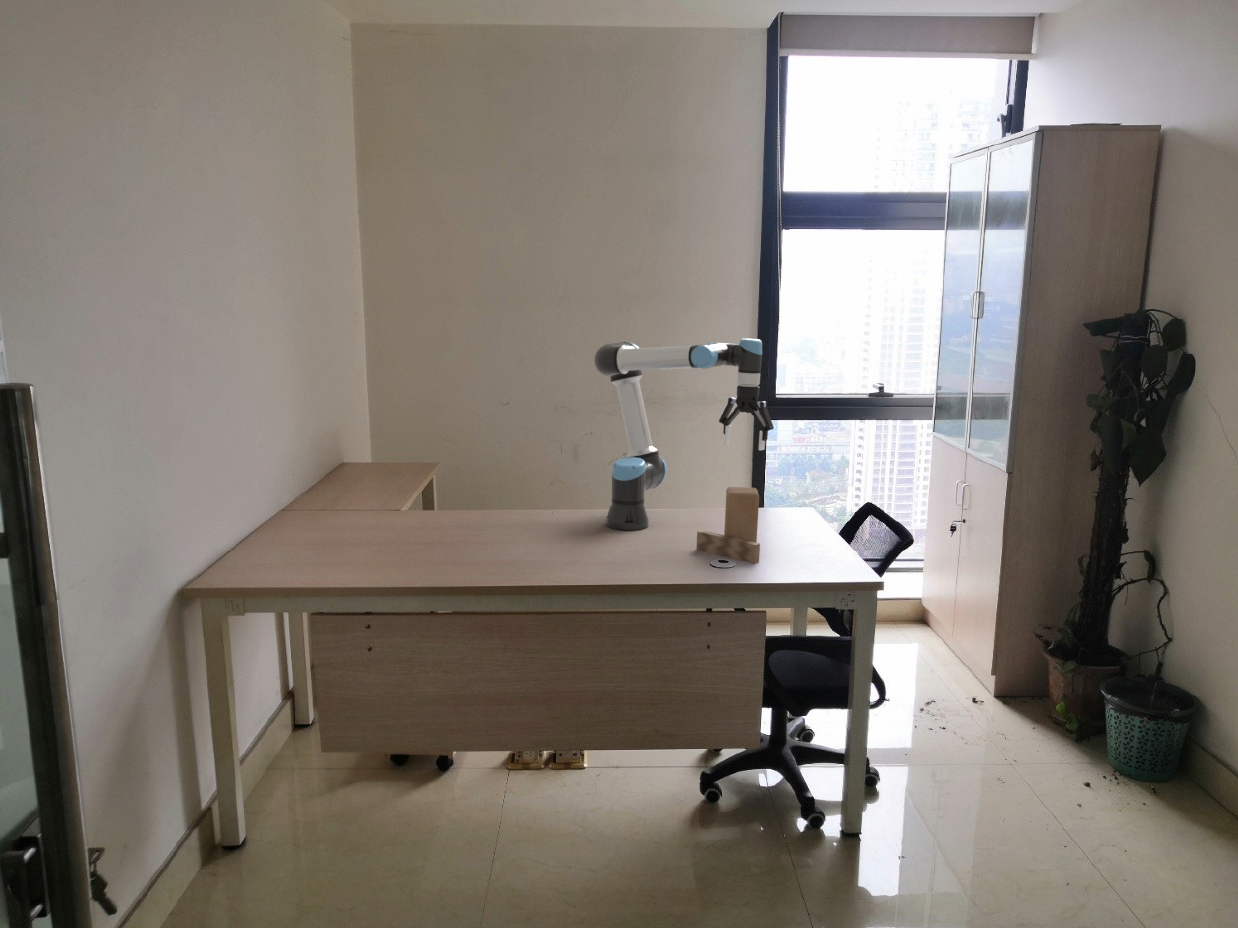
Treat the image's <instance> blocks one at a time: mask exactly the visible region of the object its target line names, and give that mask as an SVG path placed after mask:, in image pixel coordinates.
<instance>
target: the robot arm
mask: <svg viewBox="0 0 1238 928" xmlns="http://www.w3.org/2000/svg"><path fill="white" fill-rule="evenodd" d="M593 358H594V359H593V360H594V361H593V362H594V366H595V369H596V370H597V371H598V372H599V373H600V374H601V375H603V376H605V377H609V379H610V383H611V384H612V385H614V386H615V387H616V391H617V396H618V401H619V406H620V411H621V416H622V420H623V424H624V429H625V434H626V440H627V443H628V449H629V452H628V453H627V455H626V457H622V458H618V459H617V460H615V461H614V462H613V463H612V469H611V504H610V507H609V509H608V512H607V516H606V518H605V525H606V526H607V527H609V528H611V529H614V530H618V531H619V530H620V531H637V530H639V531H640V530H643V529H646V528H649V525H650V524H649V521H650V520H649V519H650V518H649V517H648V513H647V510H646V509H647V508H646V506H645V497H646V496H645V494H646V491H648V490H650V489H651V490H652V489H655V488H656V487H658V486H659V485H661V484H662V483H664V481H665V479H666V478H667V474H668V468H667V467H668V466H667V464H666V461H665V460H664V458H662V457H661V456H660V453H659V450H658V448H656V447H654V444H653V441H652V437H651V432H650V431H651V430H650V425H649V421H648V417H647V412H646V407H645V403H644V397H643V394H642V388H641V383H640V381H641V380H642V377H643V372H642V371H652V370H653V371H655V370H657V371H658V370H676V369H677V370H678V369H679V370H680V369H701V370H702V369H703V370H704V369H705V370H707V369H709V368H713V367H714V368H715V367H721V366H727V367H729V366H730V367H737V368H738V369H737V379H736V380H737V386H736V397H735V396H732V397H731V396H730V397H728V399H727V404H726V406H725V408H724V410H723V412H722V414H721V416H720V417H719V420H718V423H720V424H722V425H723V432H722V433H723V435H724V445H730V444H731V442H732V426H733V425H732V424H731V423H732V422H733V421H734V420H735V419H736V417H737V416H738V415H739V414H740V413H747V414H751V415H752V416H753V418H754V419H755V421H756V422H757V425H758V426H759V428H760V429H761V430H759V435H758V437H759V439H758V451H764V450H766V449H765V446H766V441H767V440H768V435H769V431H772V430H774V429H775V427H774V423H773V421H772V419H771V416H770V415H771V414H770V413H769V410H768V405H767V404H768V402H767V401H765V400H764V401H759V396H760V386H759V385H760V384H761V371H762V369H761V368H762V358H763V342H762V340H761V339H758V338H741V339H740V340H739V343H728V342H727V343H725V342H719V341H718V342H717V341H716V342H715V341H714V342H707V344H695V345H678V346H677V345H676V346H675V345H674V346H658V347H655V346H654V347H639V346H638V345H637V344H635V343H633V342H628V341H627V342H626V341H622V342H621V341H620V342H612V343H605V344H603V345H602V346H600V347H599V348H598V349H597V351H596V352H595V354H594V357H593ZM735 404H736V406H735ZM734 406H735V408H734ZM758 407H759V409H760V410H759V409H758ZM733 408H734V409H733ZM732 410H733V411H732ZM731 411H732V412H731ZM760 412H761V413H760Z"/></svg>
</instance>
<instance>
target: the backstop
mask: <svg viewBox="0 0 1238 928" xmlns="http://www.w3.org/2000/svg"><path fill="white" fill-rule="evenodd" d="M696 534H697V535H696V550H699V551H702V552H707V553H710V554H714V555H718V556H721V557H726V558H730V559H734V560H738V561H741V562H745V561H747V563H749V562H751V564H753V563H754V565H756V564H758V563H759V562H760V554H761V550H760V549H761V543H759V542H757V543H756V542H751V541H747V540H743V539H738V538H734V537H730V536H725V535H724V534H722V533H721V534H720V533H715V532H711V531H708V530H702V529H701V530H698V531H696ZM755 563H756V564H755Z"/></svg>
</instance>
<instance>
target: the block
mask: <svg viewBox="0 0 1238 928" xmlns="http://www.w3.org/2000/svg"><path fill="white" fill-rule="evenodd" d="M757 489H758V488H755V487H743V486H742V487H741V486H740V487H737V486H728V487H727V488H726V490H725V491H726V492H725V513H724V531H723V532H724V534H723V535H725V536H730V537H734V538H738V539H743V540H747V541H751V542H756V543H758V542H757V541H758V527H759V526H758V524H759V507H760V506H759V505H760V495H759V490H757Z"/></svg>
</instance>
